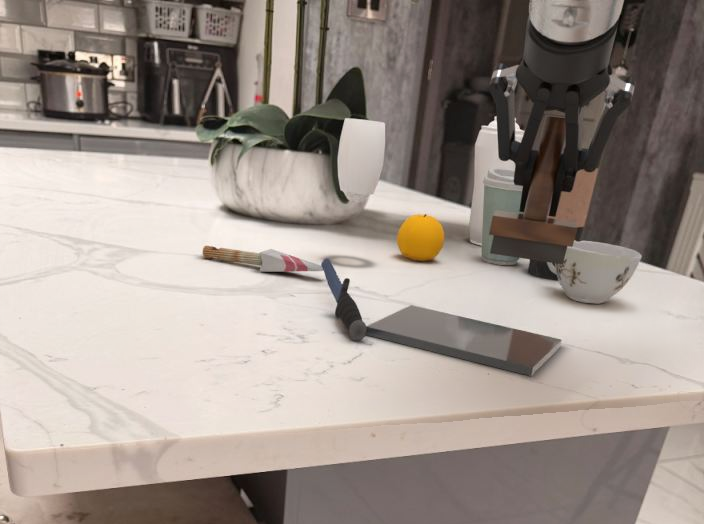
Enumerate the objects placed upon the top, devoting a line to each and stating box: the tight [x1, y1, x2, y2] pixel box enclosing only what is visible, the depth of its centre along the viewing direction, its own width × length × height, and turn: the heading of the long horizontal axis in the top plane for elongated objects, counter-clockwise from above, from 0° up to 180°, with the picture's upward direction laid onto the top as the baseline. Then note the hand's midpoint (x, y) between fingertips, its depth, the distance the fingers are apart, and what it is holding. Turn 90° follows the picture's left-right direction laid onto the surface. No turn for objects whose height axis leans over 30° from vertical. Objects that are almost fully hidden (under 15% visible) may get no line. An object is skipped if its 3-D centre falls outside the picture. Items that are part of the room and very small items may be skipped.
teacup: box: [547, 240, 643, 305], centre depth 117 cm, size 15×12×8 cm
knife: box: [320, 257, 367, 342], centre depth 96 cm, size 24×2×5 cm, turn 10°
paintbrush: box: [202, 245, 324, 273], centre depth 113 cm, size 4×3×20 cm
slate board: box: [365, 304, 563, 377], centre depth 91 cm, size 20×14×1 cm
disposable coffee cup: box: [480, 169, 524, 266], centre depth 135 cm, size 11×11×15 cm
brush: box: [489, 114, 577, 264], centre depth 82 cm, size 9×5×14 cm, turn 75°
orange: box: [396, 213, 445, 262], centre depth 131 cm, size 8×8×8 cm
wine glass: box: [336, 117, 386, 205], centre depth 120 cm, size 7×7×21 cm
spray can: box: [468, 116, 525, 247], centre depth 149 cm, size 12×11×25 cm
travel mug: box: [527, 146, 603, 281], centre depth 127 cm, size 8×8×20 cm
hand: (539, 204), depth 87 cm, fingers closed on brush, 3 cm apart
